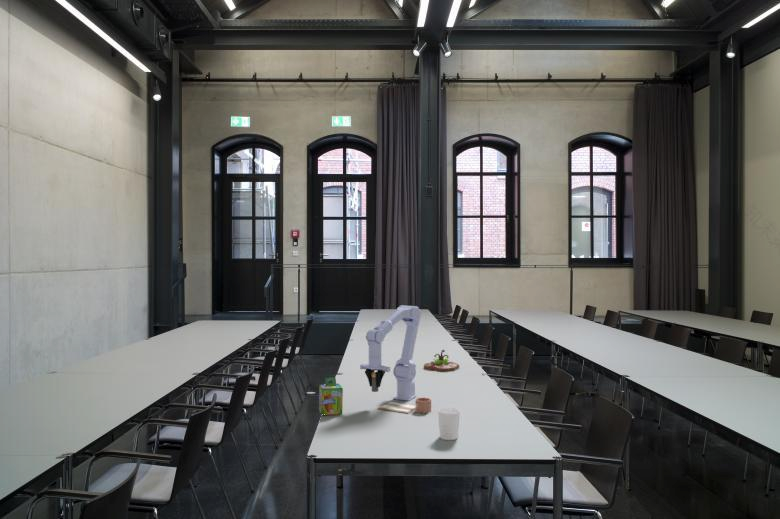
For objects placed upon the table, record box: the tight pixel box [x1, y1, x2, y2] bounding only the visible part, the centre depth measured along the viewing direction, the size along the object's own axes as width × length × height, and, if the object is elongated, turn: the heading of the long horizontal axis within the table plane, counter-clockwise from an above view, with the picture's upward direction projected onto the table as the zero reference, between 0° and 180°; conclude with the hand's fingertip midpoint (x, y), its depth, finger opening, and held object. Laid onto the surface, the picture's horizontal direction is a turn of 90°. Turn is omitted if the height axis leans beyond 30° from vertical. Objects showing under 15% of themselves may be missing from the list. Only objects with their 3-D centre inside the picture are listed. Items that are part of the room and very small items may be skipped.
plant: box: [423, 349, 460, 373], centre depth 329 cm, size 20×20×11 cm
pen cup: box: [415, 397, 432, 414], centre depth 238 cm, size 6×6×5 cm
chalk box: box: [318, 377, 344, 417], centre depth 236 cm, size 9×9×15 cm
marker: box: [371, 371, 379, 393], centre depth 244 cm, size 3×3×8 cm
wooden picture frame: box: [377, 401, 416, 414], centre depth 243 cm, size 12×15×1 cm
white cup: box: [438, 407, 461, 441], centre depth 204 cm, size 8×8×10 cm
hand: (374, 386), depth 244 cm, fingers closed on marker, 3 cm apart
